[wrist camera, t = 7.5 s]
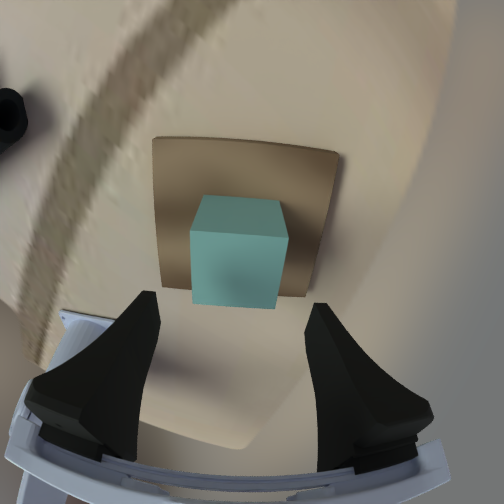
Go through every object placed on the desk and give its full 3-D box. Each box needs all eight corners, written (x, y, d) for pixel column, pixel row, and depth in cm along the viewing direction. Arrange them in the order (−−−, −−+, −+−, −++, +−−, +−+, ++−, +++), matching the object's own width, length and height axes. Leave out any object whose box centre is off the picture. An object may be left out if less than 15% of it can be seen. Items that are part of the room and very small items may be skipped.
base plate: (303, 289, 24) (311, 323, 20) (164, 279, 23) (153, 312, 20) (335, 151, 17) (355, 167, 14) (157, 136, 17) (135, 149, 13)
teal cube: (269, 262, 21) (274, 309, 17) (203, 257, 21) (192, 303, 16) (279, 200, 18) (288, 237, 14) (203, 194, 18) (189, 230, 14)
